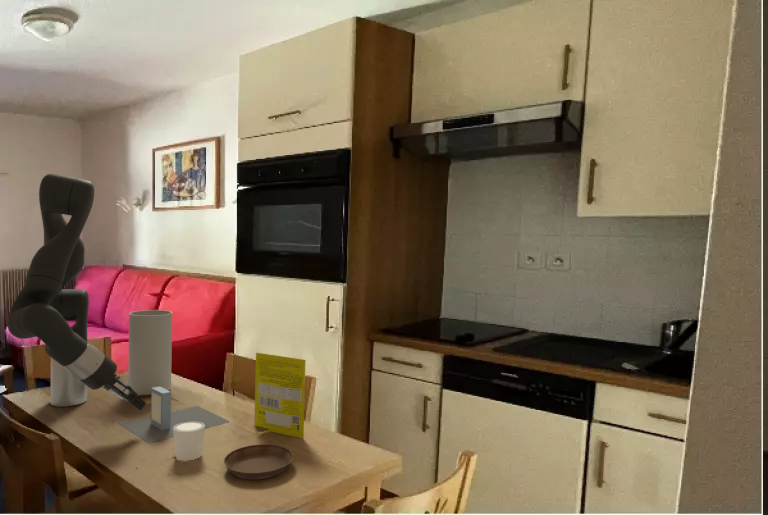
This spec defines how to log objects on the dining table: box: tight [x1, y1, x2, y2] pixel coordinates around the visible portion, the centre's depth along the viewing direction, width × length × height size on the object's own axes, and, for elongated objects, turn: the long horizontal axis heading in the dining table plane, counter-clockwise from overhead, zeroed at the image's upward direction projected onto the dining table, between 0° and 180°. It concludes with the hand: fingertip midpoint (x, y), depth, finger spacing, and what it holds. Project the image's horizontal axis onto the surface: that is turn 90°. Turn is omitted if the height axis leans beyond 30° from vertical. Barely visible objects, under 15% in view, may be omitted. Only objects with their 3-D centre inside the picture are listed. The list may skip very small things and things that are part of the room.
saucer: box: [223, 443, 294, 481], centre depth 117 cm, size 15×15×3 cm
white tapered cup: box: [173, 421, 206, 461], centre depth 122 cm, size 7×7×7 cm
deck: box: [150, 386, 172, 430], centre depth 138 cm, size 6×2×10 cm, turn 47°
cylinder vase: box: [127, 309, 173, 396], centre depth 170 cm, size 12×12×25 cm
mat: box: [118, 405, 231, 444], centre depth 141 cm, size 18×22×1 cm
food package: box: [253, 352, 306, 439], centre depth 137 cm, size 15×1×20 cm, turn 65°
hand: (142, 406), depth 135 cm, fingers closed
